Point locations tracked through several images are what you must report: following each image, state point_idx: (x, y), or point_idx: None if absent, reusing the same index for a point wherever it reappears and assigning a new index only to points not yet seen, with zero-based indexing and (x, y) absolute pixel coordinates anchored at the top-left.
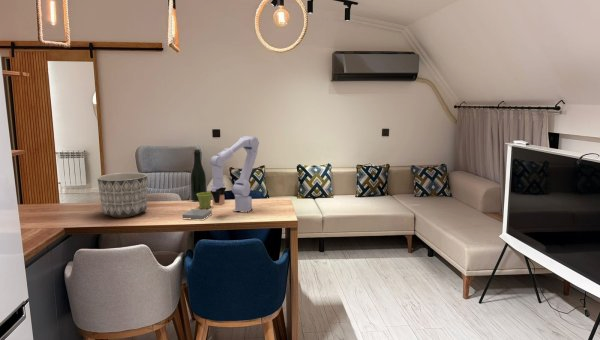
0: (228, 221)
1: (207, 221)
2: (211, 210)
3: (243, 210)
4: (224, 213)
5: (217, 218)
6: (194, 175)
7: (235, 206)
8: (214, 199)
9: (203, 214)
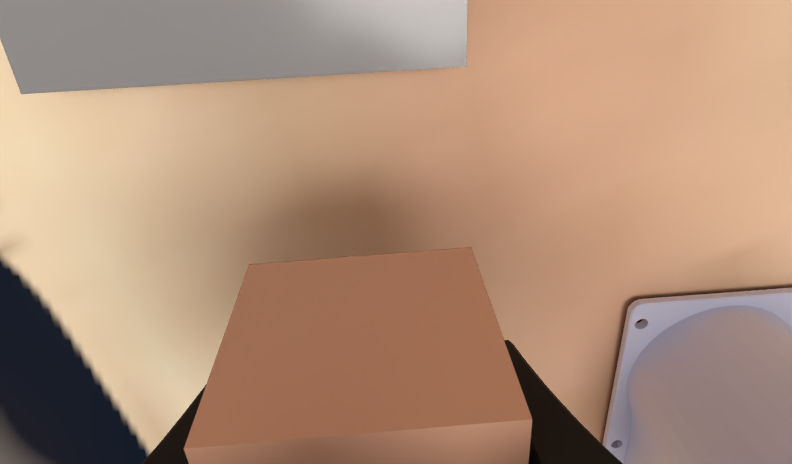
0: (182, 407)
1: (43, 173)
2: (455, 66)
3: (635, 424)
4: (547, 219)
5: (256, 239)
6: None
7: (707, 363)
8: (181, 432)
9: (101, 56)
